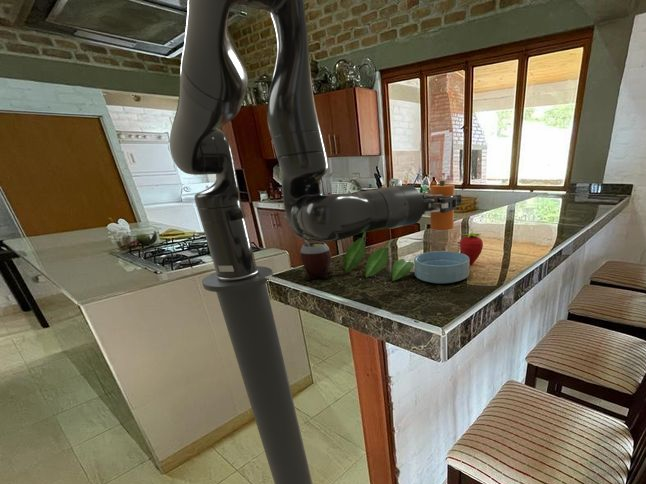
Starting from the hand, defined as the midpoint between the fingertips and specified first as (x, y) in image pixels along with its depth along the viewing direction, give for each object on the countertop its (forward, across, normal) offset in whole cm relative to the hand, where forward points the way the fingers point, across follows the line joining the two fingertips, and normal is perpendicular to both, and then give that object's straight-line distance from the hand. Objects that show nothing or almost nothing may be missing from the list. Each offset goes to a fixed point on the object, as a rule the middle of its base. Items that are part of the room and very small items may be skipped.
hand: (449, 199), depth 75 cm
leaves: (-11, +14, +18) cm, 25 cm away
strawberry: (+10, 0, +18) cm, 20 cm away
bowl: (-2, 0, +18) cm, 18 cm away
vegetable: (-3, 0, +6) cm, 7 cm away
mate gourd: (-22, +24, +18) cm, 37 cm away
